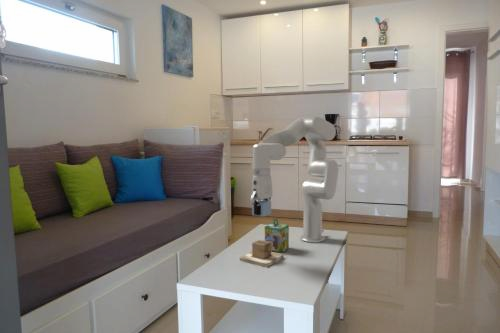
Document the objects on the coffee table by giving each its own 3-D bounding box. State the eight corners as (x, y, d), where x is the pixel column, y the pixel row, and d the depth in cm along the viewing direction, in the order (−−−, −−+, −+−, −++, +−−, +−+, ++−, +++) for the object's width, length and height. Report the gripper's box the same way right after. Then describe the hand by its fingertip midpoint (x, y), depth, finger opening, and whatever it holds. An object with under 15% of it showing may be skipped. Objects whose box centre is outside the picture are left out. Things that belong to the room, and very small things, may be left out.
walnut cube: (260, 252, 167) (260, 239, 167) (271, 255, 164) (271, 242, 163) (252, 256, 163) (252, 243, 162) (263, 259, 159) (263, 245, 159)
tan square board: (257, 252, 173) (257, 248, 173) (283, 257, 165) (283, 254, 165) (239, 260, 162) (239, 257, 162) (266, 267, 154) (266, 263, 153)
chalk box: (281, 253, 171) (281, 222, 170) (264, 250, 176) (264, 219, 174) (289, 247, 179) (289, 217, 178) (272, 245, 184) (272, 215, 182)
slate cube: (259, 212, 166) (259, 199, 165) (271, 214, 162) (271, 200, 162) (252, 214, 161) (252, 201, 160) (263, 216, 157) (263, 202, 157)
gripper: (257, 174, 151) (257, 218, 152) (279, 171, 165) (279, 211, 166) (242, 173, 155) (243, 216, 157) (265, 170, 169) (265, 209, 171)
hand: (261, 213), depth 161 cm, fingers closed on slate cube, 6 cm apart
